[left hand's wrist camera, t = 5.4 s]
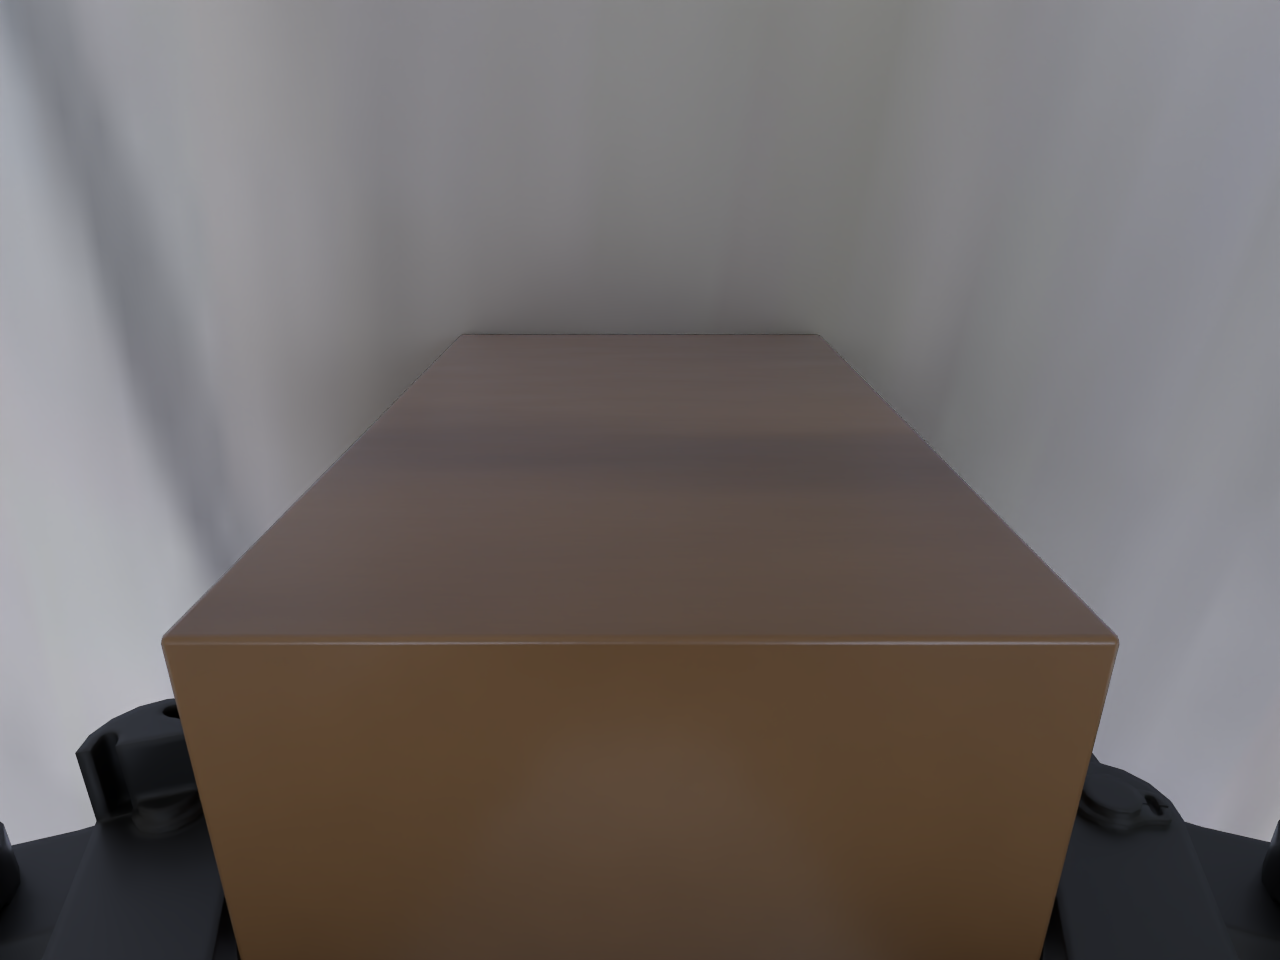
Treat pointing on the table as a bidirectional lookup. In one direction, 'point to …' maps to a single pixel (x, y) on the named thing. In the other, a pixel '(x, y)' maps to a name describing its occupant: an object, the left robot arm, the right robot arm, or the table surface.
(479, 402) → the box
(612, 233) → the table surface
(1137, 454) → the table surface
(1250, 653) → the table surface
